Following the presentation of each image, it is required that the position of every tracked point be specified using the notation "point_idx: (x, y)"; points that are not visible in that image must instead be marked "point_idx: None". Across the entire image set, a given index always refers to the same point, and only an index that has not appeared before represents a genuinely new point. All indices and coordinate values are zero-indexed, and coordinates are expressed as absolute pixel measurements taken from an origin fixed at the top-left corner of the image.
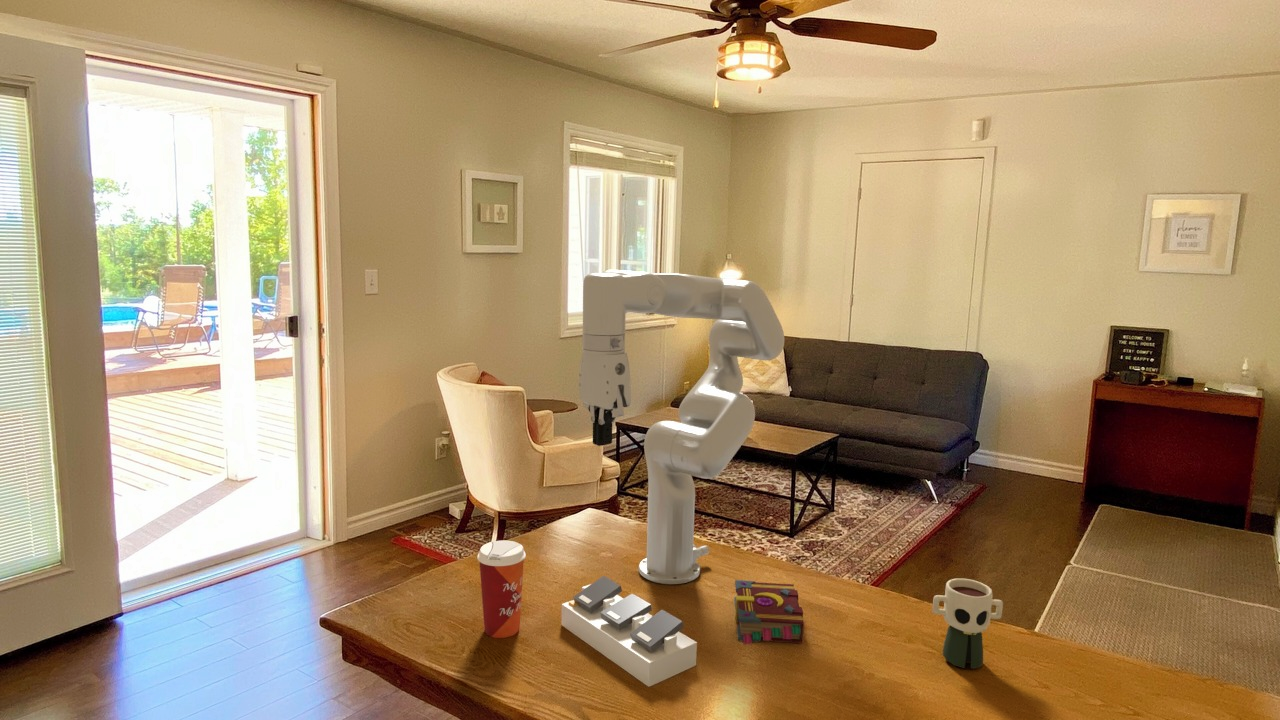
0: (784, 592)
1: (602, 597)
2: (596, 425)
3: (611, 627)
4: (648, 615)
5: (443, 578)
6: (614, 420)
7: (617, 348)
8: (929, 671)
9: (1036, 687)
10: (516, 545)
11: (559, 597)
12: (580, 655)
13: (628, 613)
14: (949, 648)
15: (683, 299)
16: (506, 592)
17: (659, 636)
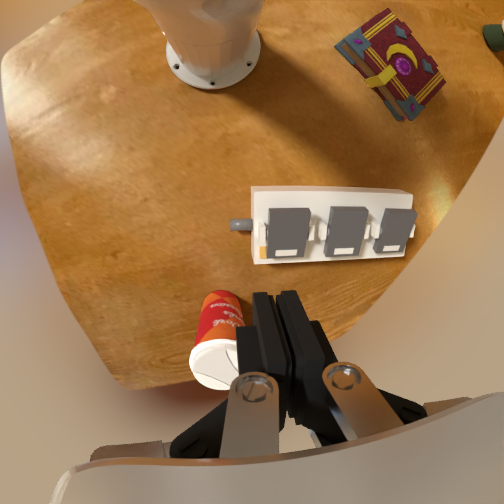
0: (402, 35)
1: (305, 239)
2: (294, 418)
3: None
4: (346, 195)
5: (82, 302)
6: (362, 372)
7: None
8: (489, 64)
9: None
10: (224, 355)
11: (187, 218)
12: (315, 268)
13: (356, 237)
14: (497, 46)
15: None
16: None
17: (404, 239)
